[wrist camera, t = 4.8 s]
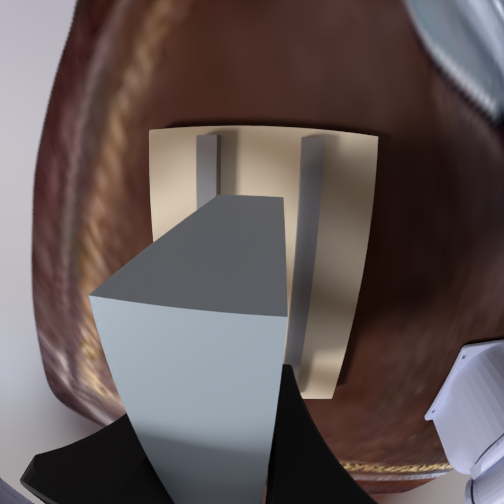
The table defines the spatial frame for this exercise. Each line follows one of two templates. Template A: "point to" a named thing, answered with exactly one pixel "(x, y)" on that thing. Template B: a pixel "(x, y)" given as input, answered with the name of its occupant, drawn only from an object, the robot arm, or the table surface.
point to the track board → (296, 220)
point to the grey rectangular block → (203, 347)
